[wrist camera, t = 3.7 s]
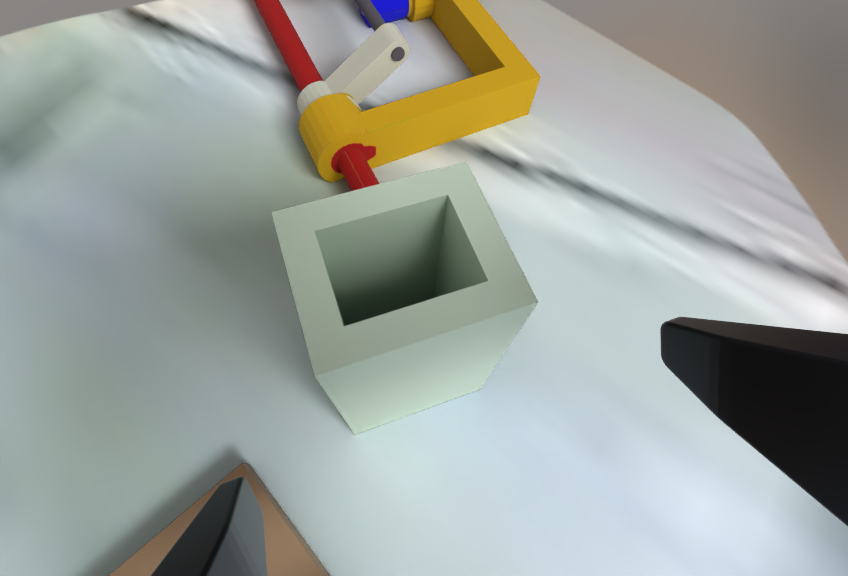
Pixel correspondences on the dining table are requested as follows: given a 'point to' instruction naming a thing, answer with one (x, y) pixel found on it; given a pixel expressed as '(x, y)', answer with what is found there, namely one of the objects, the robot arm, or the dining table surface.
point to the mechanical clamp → (410, 117)
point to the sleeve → (403, 292)
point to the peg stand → (285, 548)
